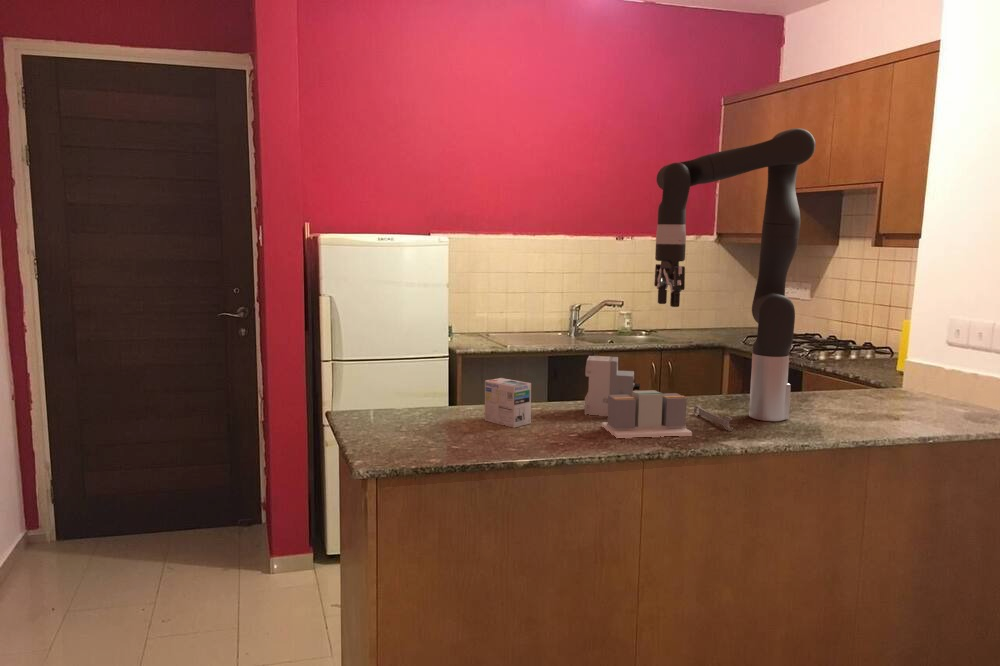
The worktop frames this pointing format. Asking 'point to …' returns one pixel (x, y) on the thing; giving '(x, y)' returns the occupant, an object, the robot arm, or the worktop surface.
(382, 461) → the worktop surface
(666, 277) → the robot arm
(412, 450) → the worktop surface
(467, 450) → the worktop surface
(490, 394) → the light bulb box
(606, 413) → the circuit breaker
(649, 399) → the block
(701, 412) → the combination wrench
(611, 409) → the rail board
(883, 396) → the worktop surface
